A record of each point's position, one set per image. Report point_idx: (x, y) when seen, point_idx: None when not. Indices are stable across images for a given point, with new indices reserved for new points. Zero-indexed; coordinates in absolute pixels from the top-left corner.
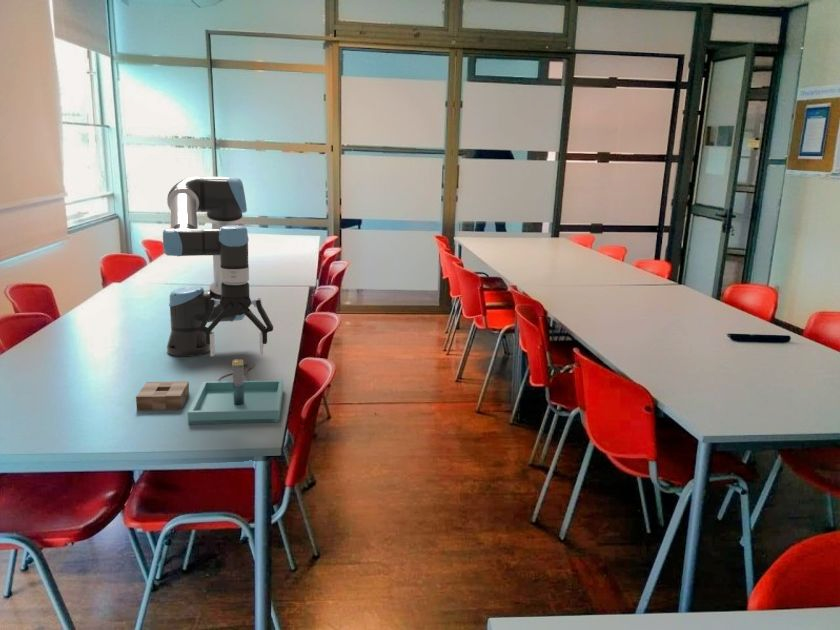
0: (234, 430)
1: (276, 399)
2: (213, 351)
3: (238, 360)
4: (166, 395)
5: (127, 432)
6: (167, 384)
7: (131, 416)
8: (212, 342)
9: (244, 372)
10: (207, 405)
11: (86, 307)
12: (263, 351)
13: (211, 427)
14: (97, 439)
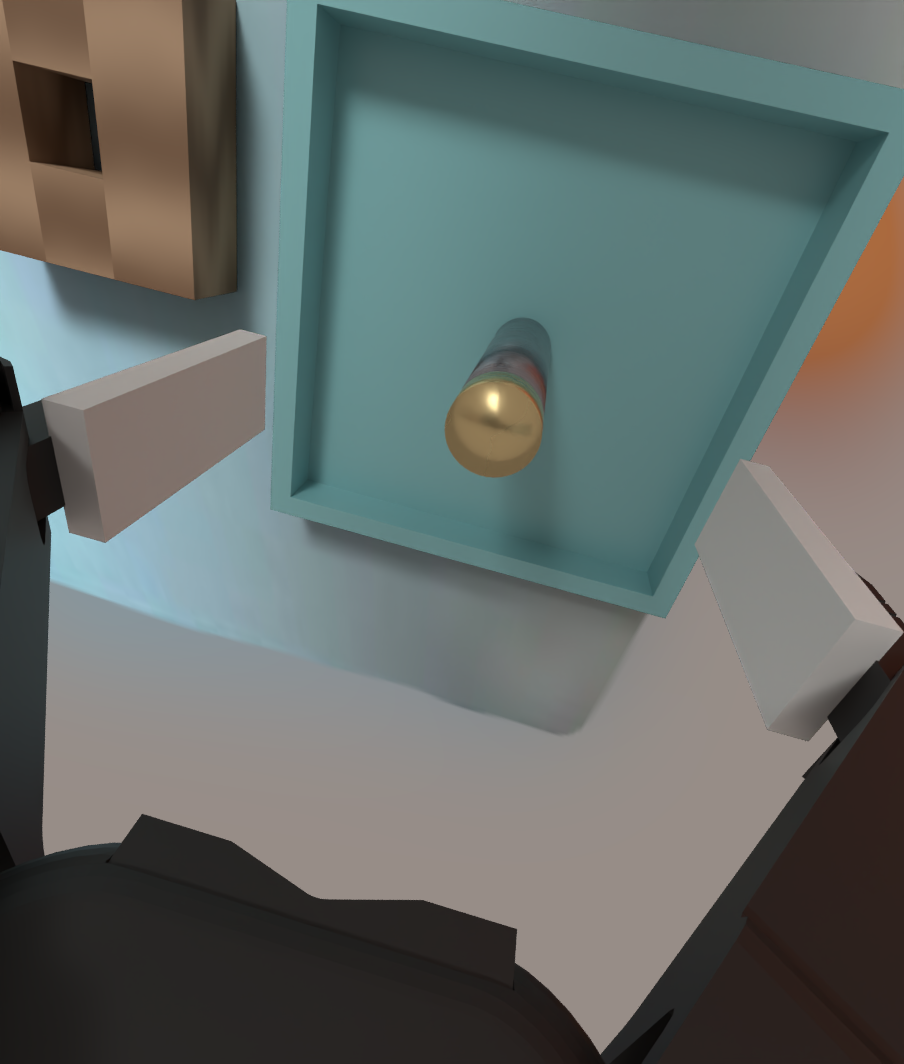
0: (466, 592)
1: (709, 492)
2: (242, 430)
3: (500, 424)
4: (118, 268)
5: None
6: (53, 14)
7: (46, 320)
8: (176, 486)
9: None
10: (357, 330)
11: None
12: (773, 478)
13: None
14: None
